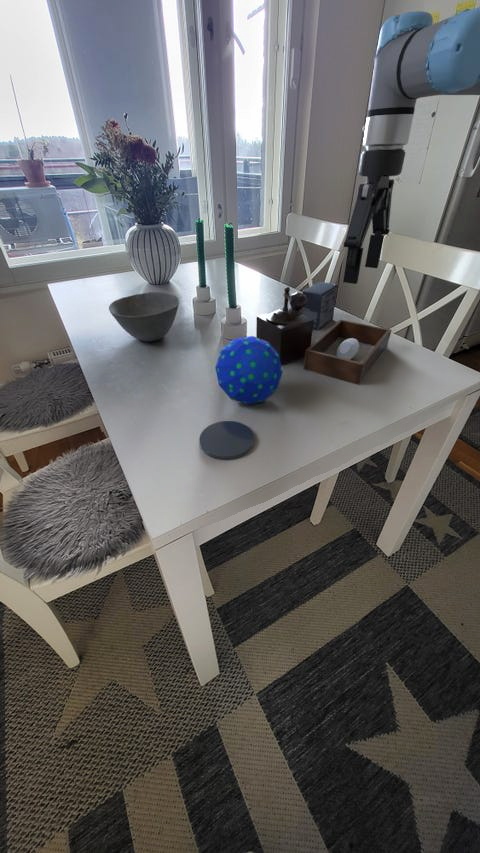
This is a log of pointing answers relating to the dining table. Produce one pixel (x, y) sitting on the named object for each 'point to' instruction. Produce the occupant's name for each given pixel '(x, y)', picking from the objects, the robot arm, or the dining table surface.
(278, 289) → the dining table surface
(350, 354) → the gemstone
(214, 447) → the coaster
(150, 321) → the bowl
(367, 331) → the open box
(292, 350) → the pepper mill
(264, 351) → the blue polka dot ball
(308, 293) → the small box
